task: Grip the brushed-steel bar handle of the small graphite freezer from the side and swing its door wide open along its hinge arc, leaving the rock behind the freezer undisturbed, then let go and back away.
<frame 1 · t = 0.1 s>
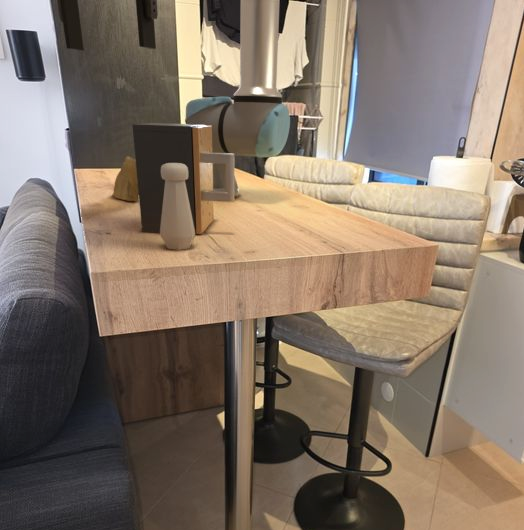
hand: (110, 49, 67), 28 cm above the counter, tool pointing down, fingers open, 13 cm apart
salt shaker: (178, 247, 76), on the counter
freezer: (176, 225, 90), on the counter
freezer door: (219, 179, 85), point 9 cm above the counter, hinge at 0.0°
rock: (126, 199, 115), on the counter
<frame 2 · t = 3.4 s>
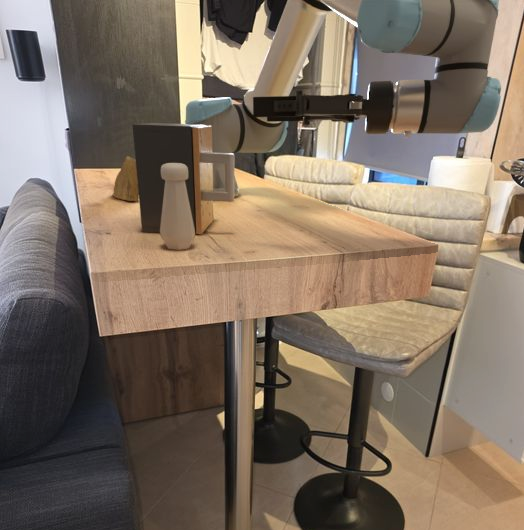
hand: (260, 110, 76), 21 cm above the counter, tool horizontal, fingers open, 13 cm apart
nothing on the counter moved.
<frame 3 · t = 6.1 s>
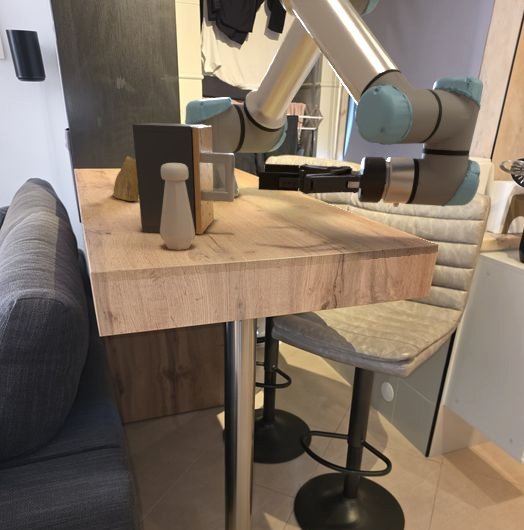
hand: (261, 175, 80), 10 cm above the counter, tool horizontal, fingers open, 13 cm apart
nothing on the counter moved.
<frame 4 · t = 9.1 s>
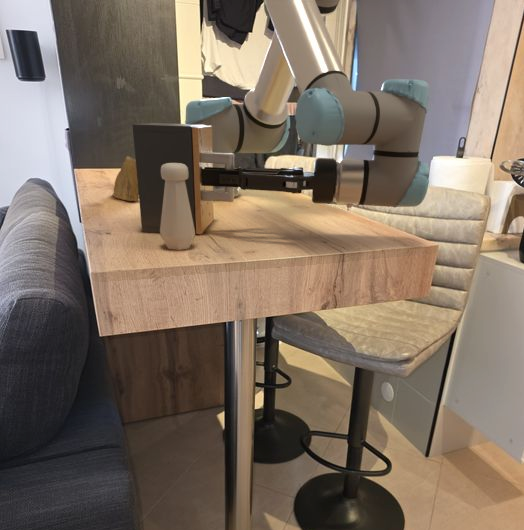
hand: (203, 176, 81), 10 cm above the counter, tool horizontal, fingers open, 2 cm apart
freezer door: (219, 179, 85), point 9 cm above the counter, hinge at -0.2°, touching gripper
everything else where it was.
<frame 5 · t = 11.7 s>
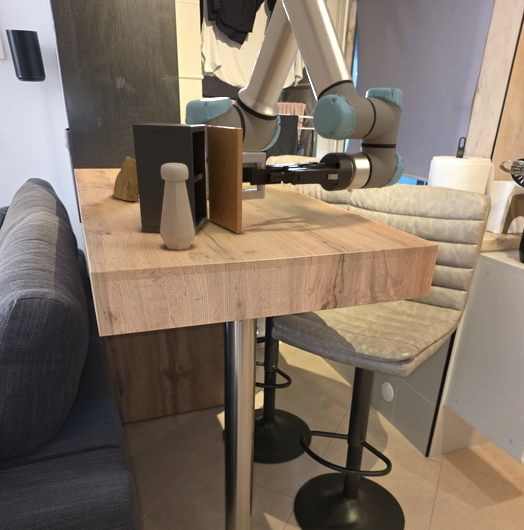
hand: (246, 176, 84), 10 cm above the counter, tool horizontal, fingers open, 3 cm apart
freezer door: (237, 178, 88), point 9 cm above the counter, hinge at 34.1°, touching gripper
everything else where it was.
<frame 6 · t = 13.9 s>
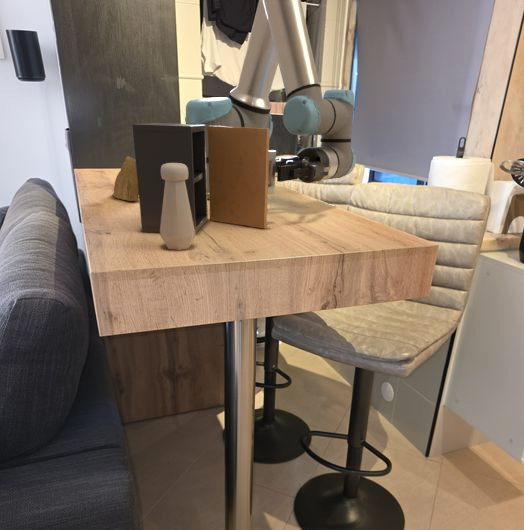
hand: (259, 171, 90), 10 cm above the counter, tool horizontal, fingers open, 9 cm apart
freezer door: (245, 176, 91), point 9 cm above the counter, hinge at 64.9°
everything else where it was.
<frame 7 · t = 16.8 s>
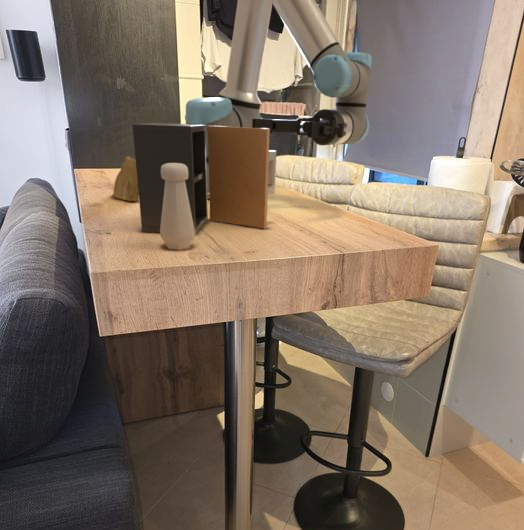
hand: (280, 127, 91), 18 cm above the counter, tool horizontal, fingers open, 13 cm apart
nothing on the counter moved.
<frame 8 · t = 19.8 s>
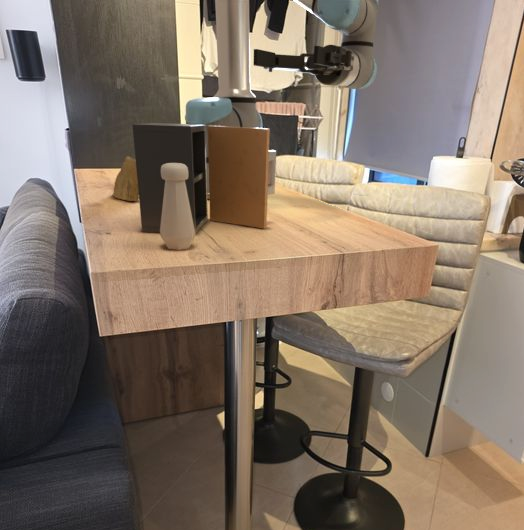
hand: (284, 56, 86), 30 cm above the counter, tool horizontal, fingers open, 13 cm apart
nothing on the counter moved.
at the end: freezer door at +65° (first picture: +0°); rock moved 0.2 cm from its start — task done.
